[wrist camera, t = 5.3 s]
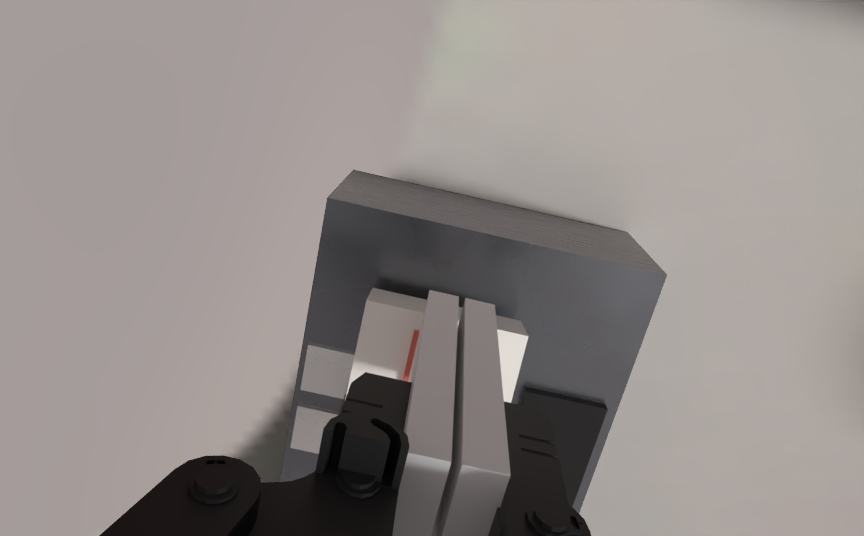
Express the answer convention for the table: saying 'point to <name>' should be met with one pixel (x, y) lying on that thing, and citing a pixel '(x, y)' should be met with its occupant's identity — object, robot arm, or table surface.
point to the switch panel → (487, 282)
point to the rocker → (398, 333)
